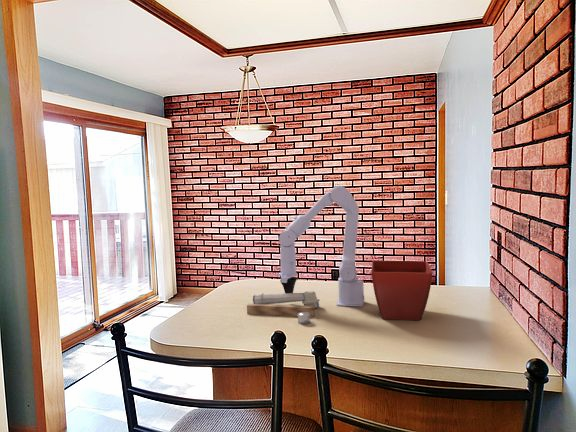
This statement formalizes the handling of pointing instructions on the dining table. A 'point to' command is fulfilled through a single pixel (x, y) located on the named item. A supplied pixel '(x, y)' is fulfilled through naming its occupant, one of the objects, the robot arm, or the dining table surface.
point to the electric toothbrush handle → (287, 298)
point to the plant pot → (401, 288)
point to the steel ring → (304, 318)
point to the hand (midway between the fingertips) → (289, 297)
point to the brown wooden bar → (279, 309)
